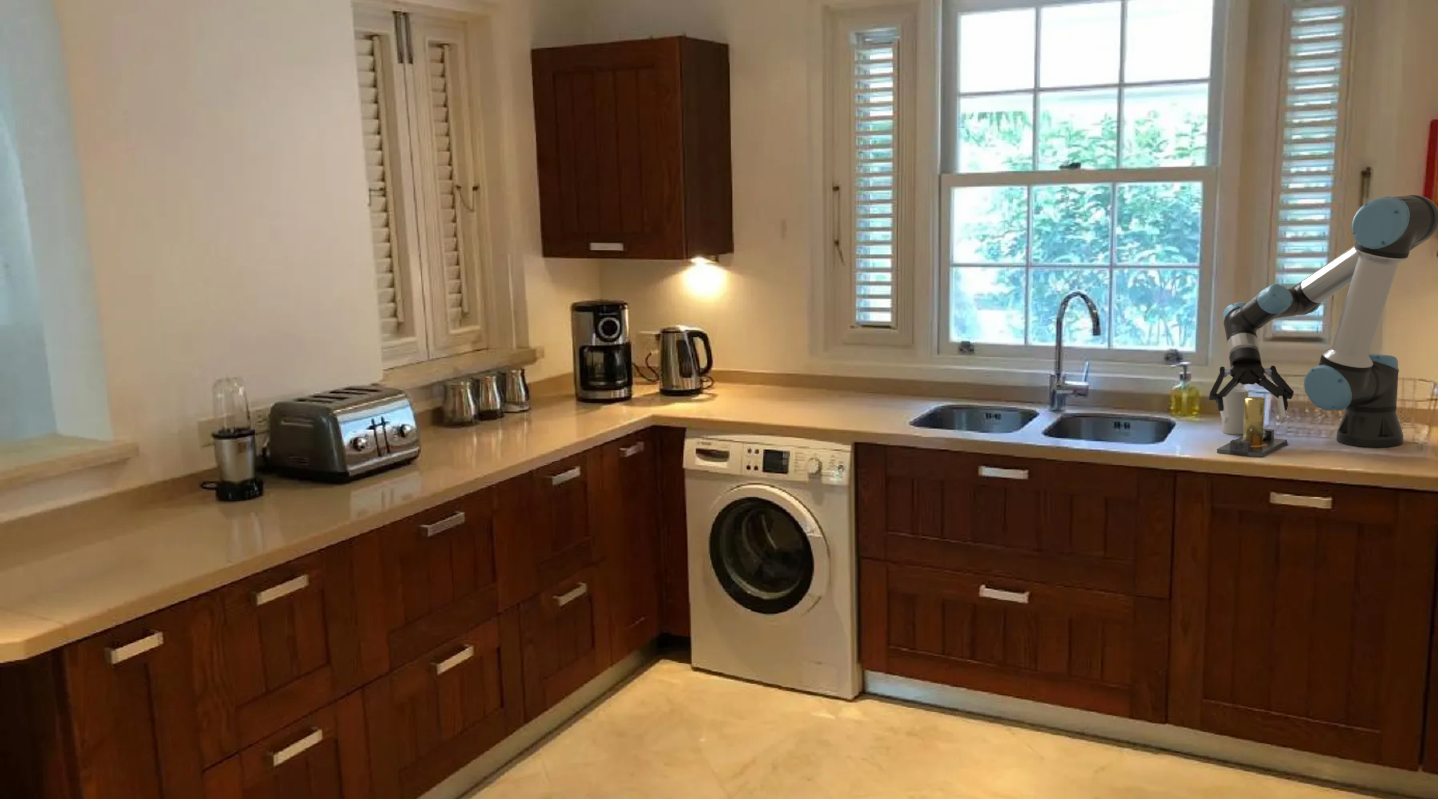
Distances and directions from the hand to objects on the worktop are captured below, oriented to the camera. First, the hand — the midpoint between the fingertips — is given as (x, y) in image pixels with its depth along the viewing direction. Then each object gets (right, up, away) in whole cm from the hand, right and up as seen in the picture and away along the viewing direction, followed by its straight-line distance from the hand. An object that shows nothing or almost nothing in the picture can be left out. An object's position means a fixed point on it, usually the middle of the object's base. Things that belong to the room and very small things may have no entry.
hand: (1254, 420), depth 297 cm
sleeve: (+1, -6, +3) cm, 7 cm away
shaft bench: (+1, -7, +4) cm, 8 cm away
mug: (+5, -4, +25) cm, 25 cm away
